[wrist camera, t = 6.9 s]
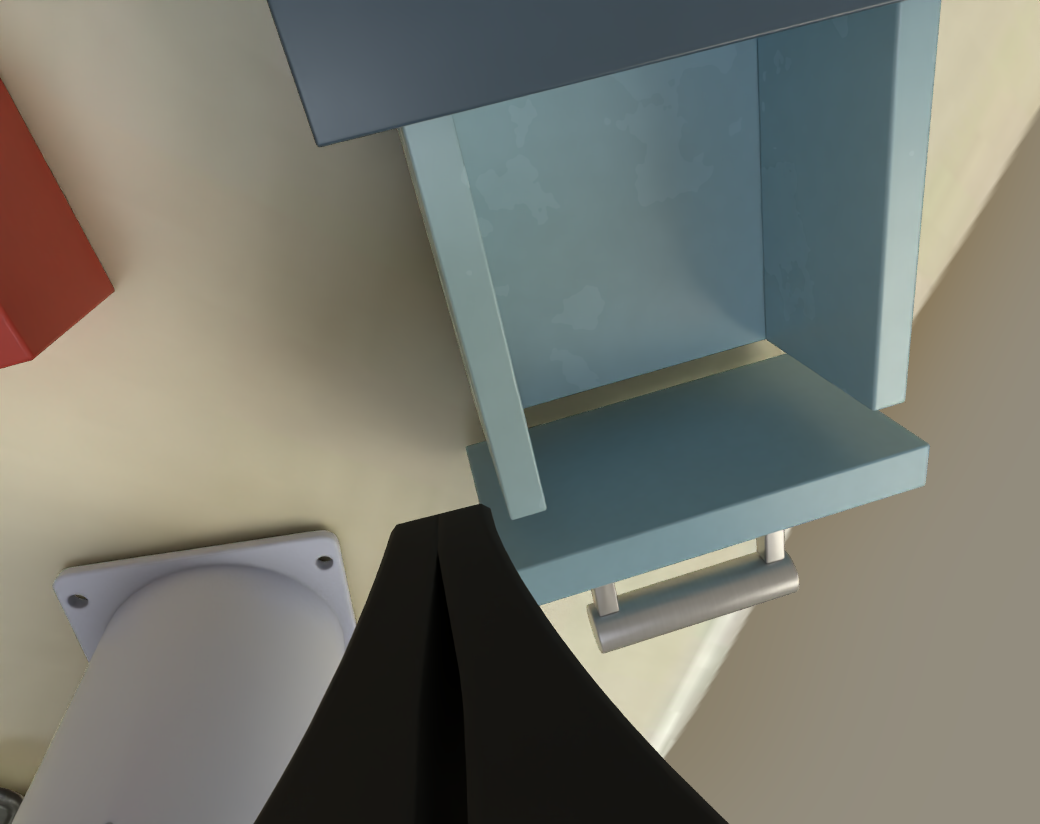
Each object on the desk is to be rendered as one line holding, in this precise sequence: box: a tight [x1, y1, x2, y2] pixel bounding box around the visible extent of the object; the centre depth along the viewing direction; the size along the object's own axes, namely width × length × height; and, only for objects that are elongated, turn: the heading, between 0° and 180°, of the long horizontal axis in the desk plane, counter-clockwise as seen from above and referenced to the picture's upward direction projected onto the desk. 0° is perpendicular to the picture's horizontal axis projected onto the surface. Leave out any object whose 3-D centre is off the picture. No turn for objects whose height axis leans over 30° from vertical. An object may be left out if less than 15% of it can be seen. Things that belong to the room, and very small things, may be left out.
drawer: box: [397, 0, 941, 653], centre depth 16 cm, size 16×10×6 cm, turn 12°
